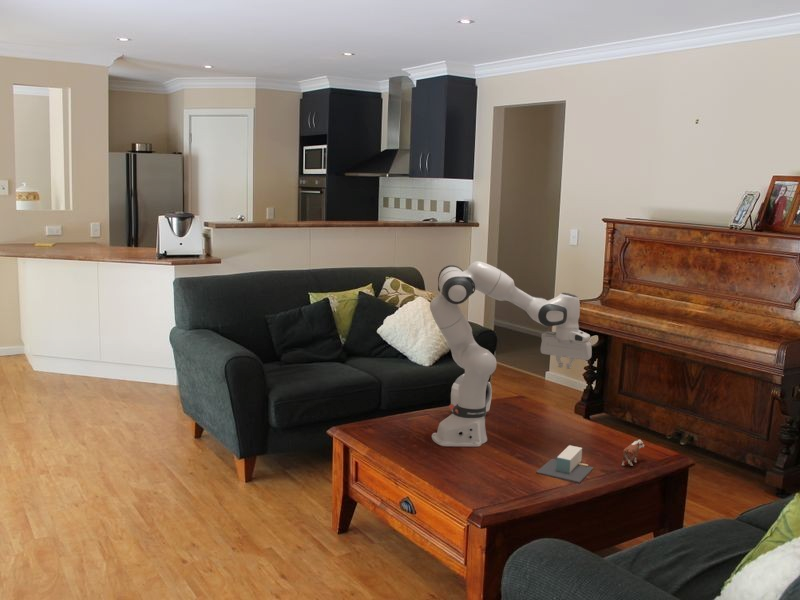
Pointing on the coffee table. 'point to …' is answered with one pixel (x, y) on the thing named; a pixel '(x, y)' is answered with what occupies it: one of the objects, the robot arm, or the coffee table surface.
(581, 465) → the oak stop strip
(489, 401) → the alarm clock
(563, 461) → the cream block
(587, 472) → the charcoal rubber mat
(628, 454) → the bull figurine
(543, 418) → the coffee table surface
